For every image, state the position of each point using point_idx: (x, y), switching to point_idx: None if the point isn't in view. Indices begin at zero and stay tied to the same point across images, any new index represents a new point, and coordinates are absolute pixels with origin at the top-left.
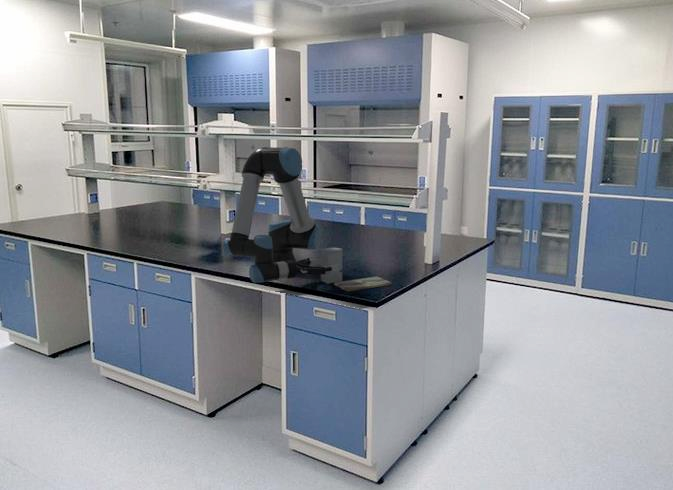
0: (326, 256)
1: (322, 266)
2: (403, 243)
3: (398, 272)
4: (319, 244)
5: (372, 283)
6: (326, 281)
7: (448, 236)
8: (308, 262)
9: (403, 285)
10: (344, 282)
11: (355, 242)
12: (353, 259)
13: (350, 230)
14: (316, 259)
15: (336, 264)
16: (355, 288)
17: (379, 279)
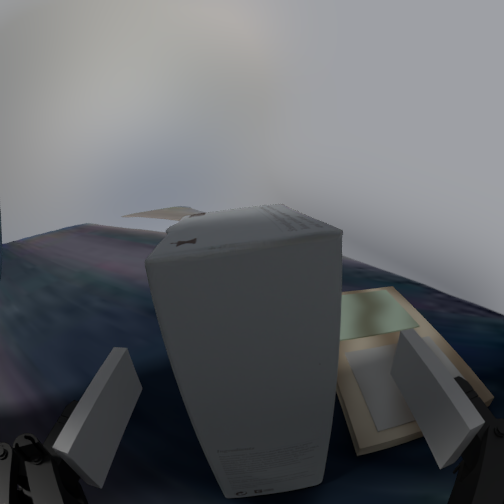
0: (317, 321)
1: (236, 437)
2: (101, 233)
3: None
4: (1, 261)
5: (407, 318)
6: (310, 483)
7: (131, 215)
8: (62, 480)
9: (399, 279)
10: (378, 398)
11: (29, 257)
12: (80, 284)
13: (4, 249)
14: (96, 400)
15: (403, 333)
16: (470, 371)
17: (354, 297)
